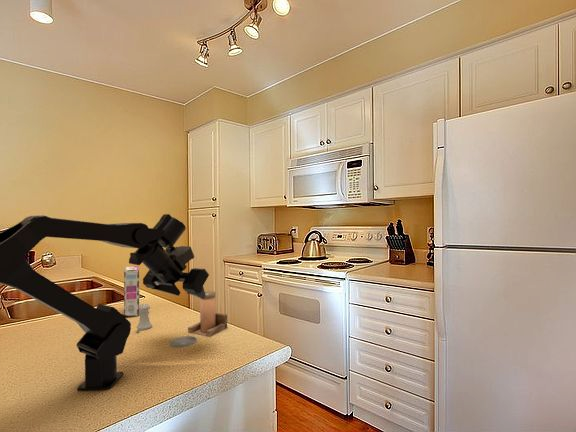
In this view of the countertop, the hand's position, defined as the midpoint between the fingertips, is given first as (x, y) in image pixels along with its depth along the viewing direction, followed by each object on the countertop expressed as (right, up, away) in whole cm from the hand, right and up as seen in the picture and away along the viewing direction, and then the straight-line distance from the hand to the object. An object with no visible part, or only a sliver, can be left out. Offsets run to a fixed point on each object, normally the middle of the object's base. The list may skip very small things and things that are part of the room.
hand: (191, 295), depth 90 cm
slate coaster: (-1, -13, -3) cm, 13 cm away
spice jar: (+3, -12, +6) cm, 13 cm away
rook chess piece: (-17, -13, +9) cm, 23 cm away
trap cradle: (+3, -13, +6) cm, 14 cm away
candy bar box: (-30, -13, +28) cm, 43 cm away
